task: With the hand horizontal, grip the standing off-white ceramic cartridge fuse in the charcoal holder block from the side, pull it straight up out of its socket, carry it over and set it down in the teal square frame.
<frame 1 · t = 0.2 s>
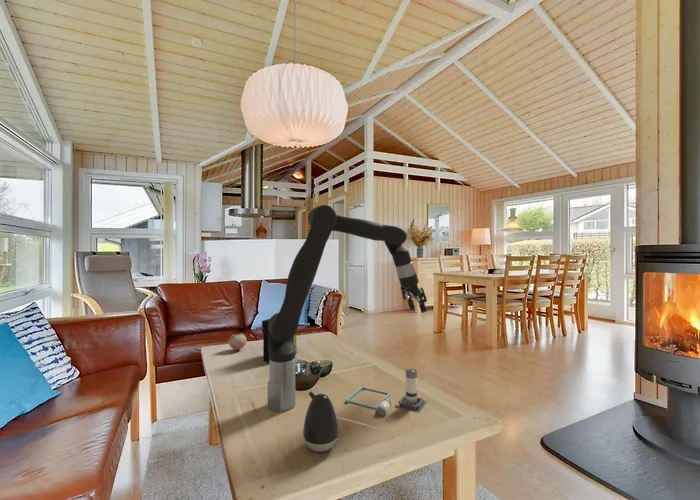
hand: (418, 310, 144), 31 cm above the table, tool tilted 20°, fingers open, 8 cm apart
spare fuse: (386, 412, 119), on the table, tilted 40°
blown fuse: (411, 403, 124), point 1 cm above the table, touching holder block
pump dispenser: (320, 446, 100), on the table
electrical component: (280, 357, 177), on the table
holder block: (411, 406, 124), on the table
teal square frame: (368, 400, 129), on the table
decorative fruit: (238, 350, 187), on the table
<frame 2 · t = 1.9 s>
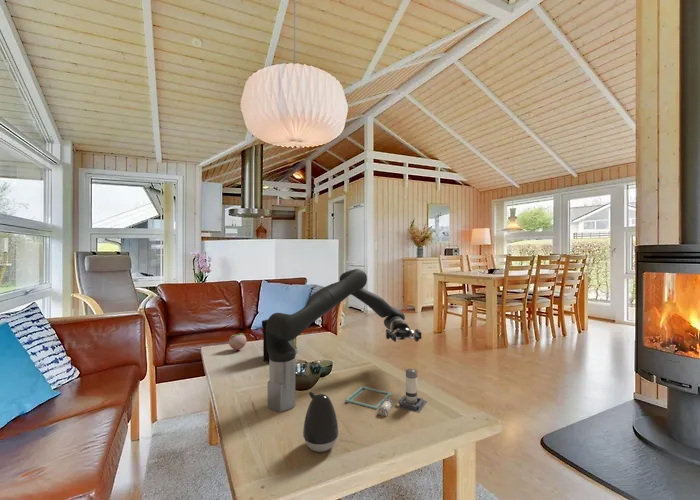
hand: (406, 339, 135), 21 cm above the table, tool horizontal, fingers open, 8 cm apart
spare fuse: (386, 413, 119), on the table, tilted 18°
everything else where it was.
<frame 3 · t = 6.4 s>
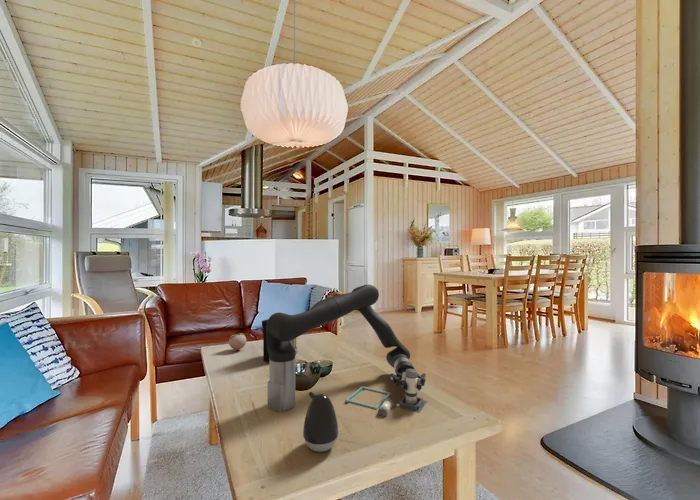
hand: (413, 387, 121), 8 cm above the table, tool horizontal, fingers closed on blown fuse, 4 cm apart
blown fuse: (411, 403, 124), point 1 cm above the table, touching gripper, holder block
everything else where it was.
when the fingers open (9 cm above the table, at t = 11.4 s): blown fuse drops 1 cm, resting on teal square frame.
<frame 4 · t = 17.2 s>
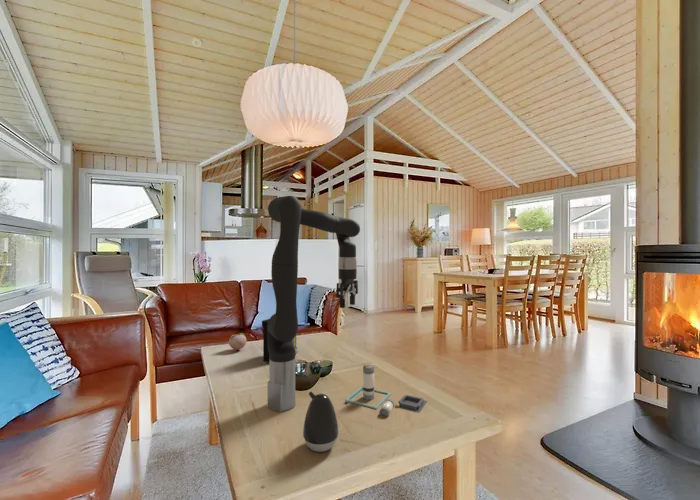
hand: (347, 306, 145), 32 cm above the table, tool pointing down, fingers open, 8 cm apart
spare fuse: (386, 413, 119), on the table
blown fuse: (368, 398, 129), point 1 cm above the table, touching teal square frame
everything else where it was.
at the end: blown fuse inside the target area on the teal square frame (0.1 cm from its centre), point 0.6 cm above the teal square frame's base; blown fuse moved 15.8 cm from its start; the gripper is holding nothing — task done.
